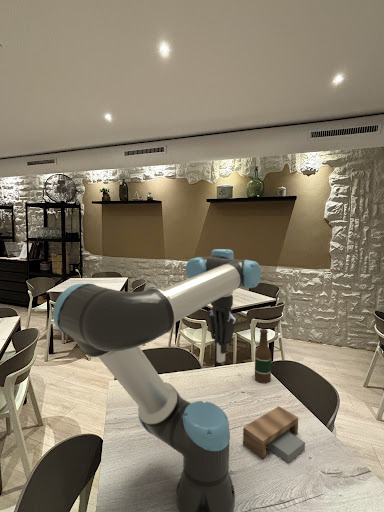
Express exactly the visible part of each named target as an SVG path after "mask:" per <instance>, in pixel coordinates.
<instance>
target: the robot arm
mask: <svg viewBox="0 0 384 512" xmlns="http://www.w3.org/2000/svg"><path fill="white" fill-rule="evenodd" d="M185 274H186V275H185V276H186V277H187V279H185V280H182V281H179V282H176V283H174V284H172V285H169V286H167V287H164V288H162V289H159V288H155V287H152V288H149V289H145V290H142V291H137V292H136V291H135V292H133V291H132V292H131V291H121V290H117V289H112V288H108V287H103V286H99V285H96V284H94V283H90V282H89V283H84V282H83V283H77V284H73V285H71V286H69V287H67V288H66V289H65V290H63V292H61V293H60V294H59V296H58V297H57V299H56V301H55V303H54V306H53V311H52V318H53V322H54V324H55V326H56V327H57V329H58V330H59V331H60V332H61V333H62V334H64V335H68V336H69V337H71V339H73V341H74V342H75V343H76V344H77V345H78V347H80V349H81V350H82V351H83V352H84V354H86V355H87V356H88V357H90V358H98V359H99V360H100V361H101V362H102V364H103V365H104V366H105V368H107V370H108V371H109V372H110V373H111V375H112V376H113V377H114V378H115V379H116V381H118V383H119V384H120V385H121V387H122V388H123V389H124V390H125V392H126V393H127V395H129V396H130V398H131V399H132V400H133V401H134V402H135V404H136V405H137V406H138V408H137V412H138V415H137V416H138V420H139V422H140V425H141V426H142V427H143V428H144V430H146V431H147V433H149V434H151V435H153V436H154V437H155V438H157V439H159V440H160V441H162V442H163V443H165V444H167V446H169V447H171V448H172V449H174V450H176V452H178V453H179V454H181V455H182V457H183V462H182V463H183V469H182V472H181V474H180V479H179V480H178V483H177V487H176V492H175V493H176V496H175V497H176V506H177V508H178V511H179V512H234V509H235V505H236V491H235V486H234V484H233V481H232V479H231V475H230V471H229V470H230V469H229V468H230V467H229V466H230V465H229V464H230V463H229V462H230V440H231V431H230V422H229V418H228V416H227V414H226V412H225V411H224V410H223V409H222V408H221V407H220V406H218V405H217V404H215V403H213V402H210V401H206V402H204V401H202V400H200V401H199V400H197V401H194V402H189V401H188V400H186V399H184V398H183V397H181V395H180V394H179V392H178V391H177V389H176V388H175V387H174V385H172V384H171V383H169V382H165V381H164V380H163V378H162V377H161V376H160V374H158V372H157V370H156V369H155V367H154V366H153V364H152V363H151V361H150V360H149V359H148V357H147V356H146V354H145V353H144V352H143V350H142V349H141V347H140V346H142V345H146V344H148V343H150V342H152V341H154V340H156V339H158V338H161V337H162V336H164V335H166V334H167V333H169V332H171V331H172V330H173V328H174V326H175V323H177V322H179V321H181V320H182V319H185V318H186V317H188V316H189V315H191V314H193V313H196V312H197V311H199V310H201V309H202V308H205V307H206V306H208V305H210V306H211V309H210V310H207V311H206V315H207V317H208V323H209V329H210V337H211V340H213V341H214V342H215V351H216V362H217V363H219V364H221V363H223V362H225V361H226V354H227V345H230V344H231V343H232V341H233V335H234V331H235V326H236V323H237V322H238V317H234V316H233V311H232V307H233V305H234V296H233V294H234V292H235V290H238V289H240V288H245V289H247V288H250V289H253V288H256V287H257V286H258V285H259V283H260V281H261V277H262V269H261V266H260V264H259V263H258V262H257V261H254V260H249V259H235V257H234V251H233V250H232V249H229V248H227V249H223V248H220V249H219V248H216V249H213V250H211V254H210V256H197V257H194V258H191V259H189V260H188V261H187V263H186V264H185Z"/></svg>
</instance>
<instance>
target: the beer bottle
mask: <svg viewBox="0 0 384 512" xmlns="http://www.w3.org/2000/svg"><path fill="white" fill-rule="evenodd" d="M259 333H260V335H259V344H258V346H257V347H256V350H255V352H254V353H255V355H254V380H255V381H256V382H258V383H260V384H267V383H270V382H271V380H272V379H271V378H272V353H271V349H270V348H269V346H268V333H269V332H268V329H265V328H261V329H260V330H259Z"/></svg>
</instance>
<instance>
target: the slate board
mask: <svg viewBox="0 0 384 512" xmlns="http://www.w3.org/2000/svg"><path fill="white" fill-rule="evenodd" d="M266 449H268V450H269V451H271V453H273V454H275V455H276V456H277V457H279V458H280V459H281V460H283V461H284V462H285V463H287V464H289V463H290V462H291V461H293V460H295V458H296V457H298V456H299V455H301V453H303V452H304V451H305V450H306V442H305V440H304V441H303V440H302V439H301V438H299V437H297V436H296V435H294V434H293V433H291V432H288V431H285V432H284V433H282V434H281V435H279V436H278V437H276V438H275V439H274V440H272V441H271V442H269V443H268V444H266Z"/></svg>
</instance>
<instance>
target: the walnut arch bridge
mask: <svg viewBox="0 0 384 512" xmlns="http://www.w3.org/2000/svg"><path fill="white" fill-rule="evenodd" d="M242 429H243V430H242V432H243V433H242V445H243V446H245V447H246V448H247V449H249V450H250V451H251V452H253V453H254V454H255V455H257V457H259V458H260V459H261V460H264V459H265V458H266V457H267V455H266V454H267V448H266V444H268V443H269V442H271V441H272V440H274V439H275V438H276V437H278V436H279V435H281V434H282V433H284V432H285V431H288V432H289V433H291V434H293V435H294V436H296V435H297V434H299V416H296V415H295V414H293V413H292V412H290V411H288V410H287V409H284V408H283V407H281V406H277V407H275V408H274V409H272V410H270V411H267V413H265V414H263V415H262V416H260V417H259V418H257V419H255V420H253V421H252V422H250V423H248V424H247V425H245V426H243V428H242Z"/></svg>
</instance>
